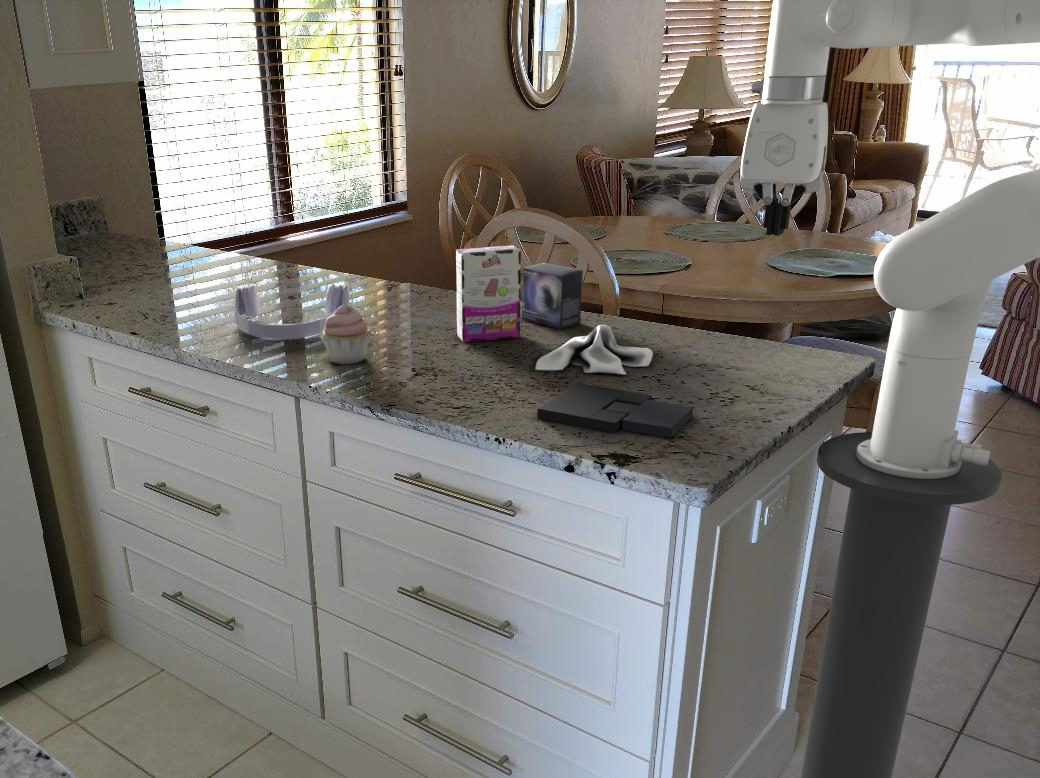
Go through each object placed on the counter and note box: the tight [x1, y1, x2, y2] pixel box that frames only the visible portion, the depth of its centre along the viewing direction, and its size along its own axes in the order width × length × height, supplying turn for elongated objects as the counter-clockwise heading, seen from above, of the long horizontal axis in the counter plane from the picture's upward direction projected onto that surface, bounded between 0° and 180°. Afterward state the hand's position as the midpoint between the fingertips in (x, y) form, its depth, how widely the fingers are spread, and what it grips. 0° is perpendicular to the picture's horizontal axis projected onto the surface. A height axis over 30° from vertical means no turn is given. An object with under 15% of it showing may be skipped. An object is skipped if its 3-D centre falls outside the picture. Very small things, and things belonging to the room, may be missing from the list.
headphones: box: [233, 283, 350, 340], centre depth 195 cm, size 22×7×20 cm
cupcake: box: [318, 304, 374, 365], centre depth 171 cm, size 9×9×10 cm
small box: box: [520, 262, 584, 330], centre depth 192 cm, size 11×6×10 cm, turn 40°
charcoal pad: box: [605, 400, 694, 439], centre depth 142 cm, size 11×10×2 cm
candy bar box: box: [455, 245, 522, 343], centre depth 182 cm, size 11×5×16 cm, turn 101°
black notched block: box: [536, 382, 653, 434], centre depth 146 cm, size 12×14×2 cm
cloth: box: [534, 324, 654, 376], centre depth 169 cm, size 22×19×6 cm
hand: (774, 233), depth 137 cm, fingers closed
